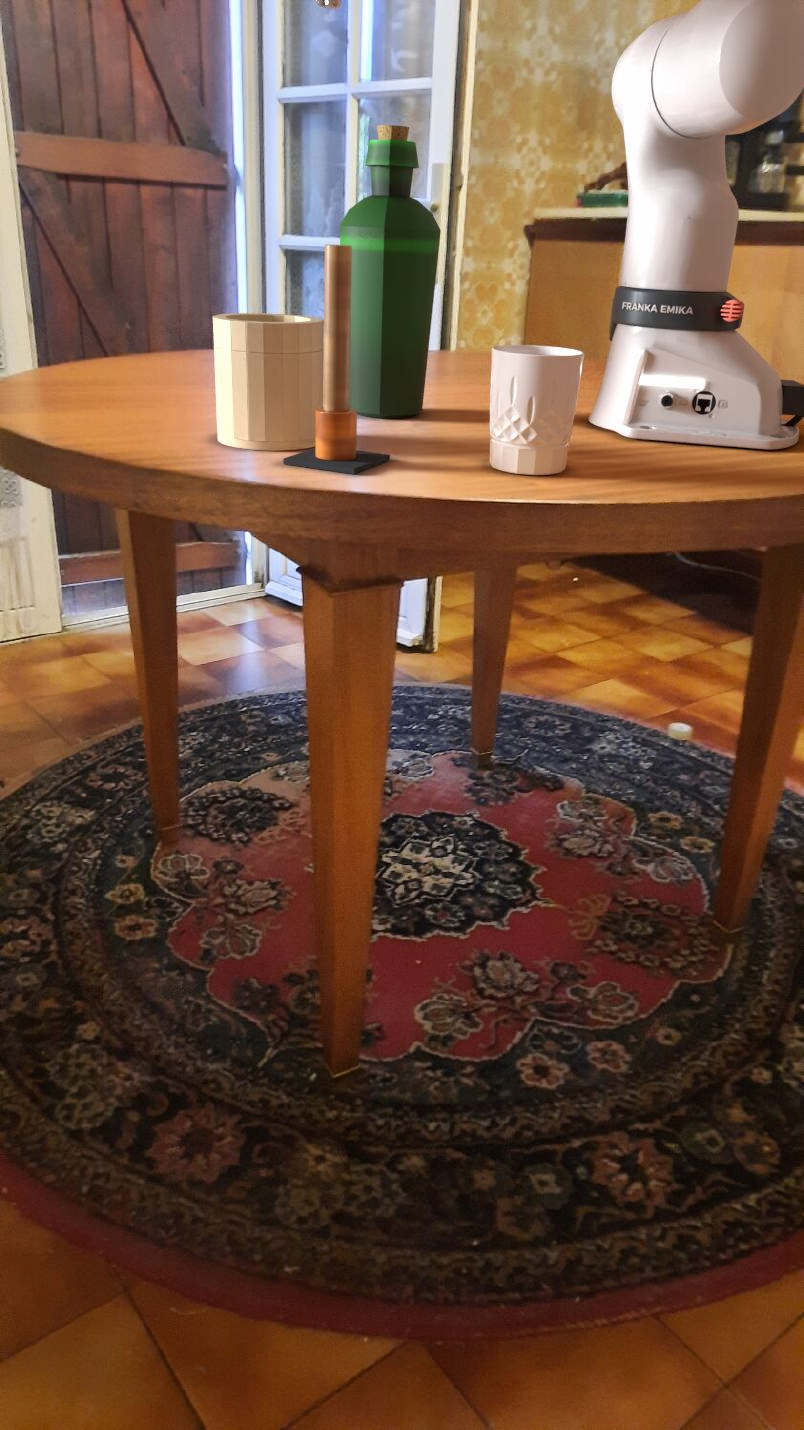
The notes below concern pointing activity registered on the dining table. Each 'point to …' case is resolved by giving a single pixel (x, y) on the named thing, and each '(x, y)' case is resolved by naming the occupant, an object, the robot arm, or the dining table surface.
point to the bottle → (390, 283)
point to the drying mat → (348, 466)
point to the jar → (268, 379)
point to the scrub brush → (336, 361)
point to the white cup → (532, 407)
